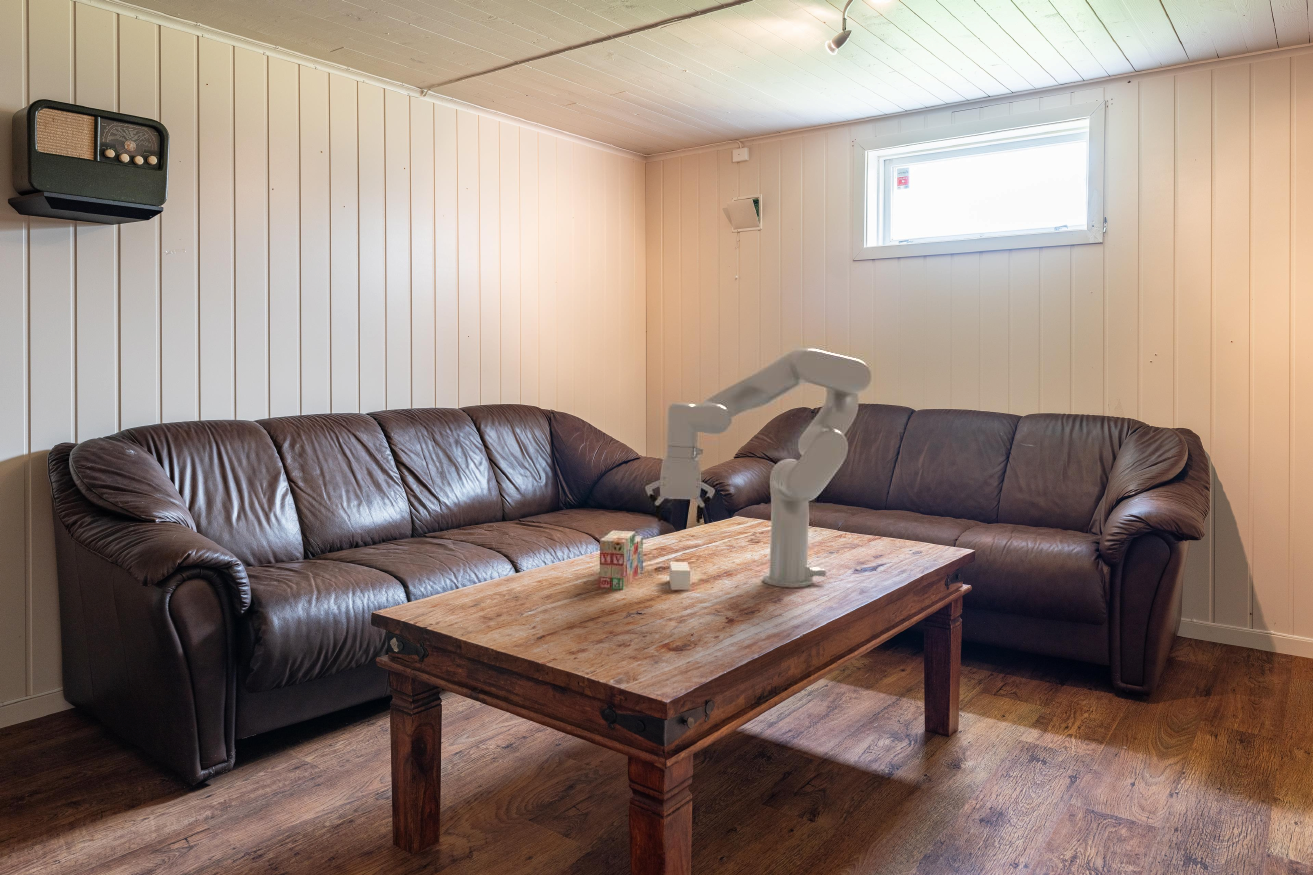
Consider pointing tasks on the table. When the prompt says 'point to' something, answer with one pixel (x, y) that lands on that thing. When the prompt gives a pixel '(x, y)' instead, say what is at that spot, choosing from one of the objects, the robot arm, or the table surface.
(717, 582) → the table surface
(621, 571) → the stack of blocks
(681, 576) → the cream bar block
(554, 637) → the table surface
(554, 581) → the table surface
